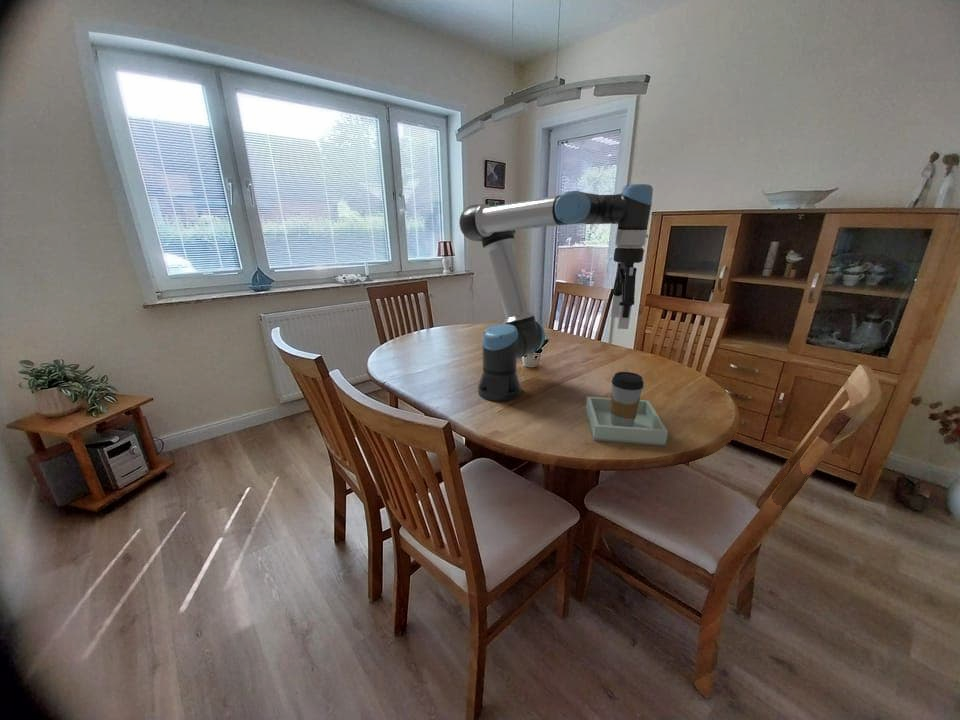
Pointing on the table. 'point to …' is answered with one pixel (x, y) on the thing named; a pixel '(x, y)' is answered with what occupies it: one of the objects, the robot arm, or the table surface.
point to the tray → (642, 432)
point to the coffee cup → (625, 398)
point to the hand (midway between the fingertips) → (618, 322)
